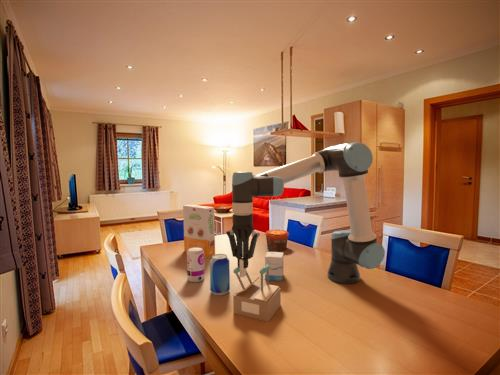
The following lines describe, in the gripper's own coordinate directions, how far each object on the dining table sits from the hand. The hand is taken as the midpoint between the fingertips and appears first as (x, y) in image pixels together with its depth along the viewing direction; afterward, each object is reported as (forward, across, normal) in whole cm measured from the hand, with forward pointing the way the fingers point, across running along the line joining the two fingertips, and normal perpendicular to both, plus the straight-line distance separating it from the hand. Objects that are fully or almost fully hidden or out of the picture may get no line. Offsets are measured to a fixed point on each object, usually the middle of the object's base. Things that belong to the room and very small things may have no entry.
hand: (242, 275), depth 106 cm
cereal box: (+14, +57, -53) cm, 79 cm away
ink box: (+14, 0, -36) cm, 38 cm away
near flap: (+7, -8, -4) cm, 11 cm away
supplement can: (+14, +35, -18) cm, 41 cm away
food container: (+14, +16, -84) cm, 86 cm away
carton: (+14, -4, -4) cm, 15 cm away
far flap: (+5, 0, -3) cm, 6 cm away
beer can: (+14, +17, -11) cm, 24 cm away
